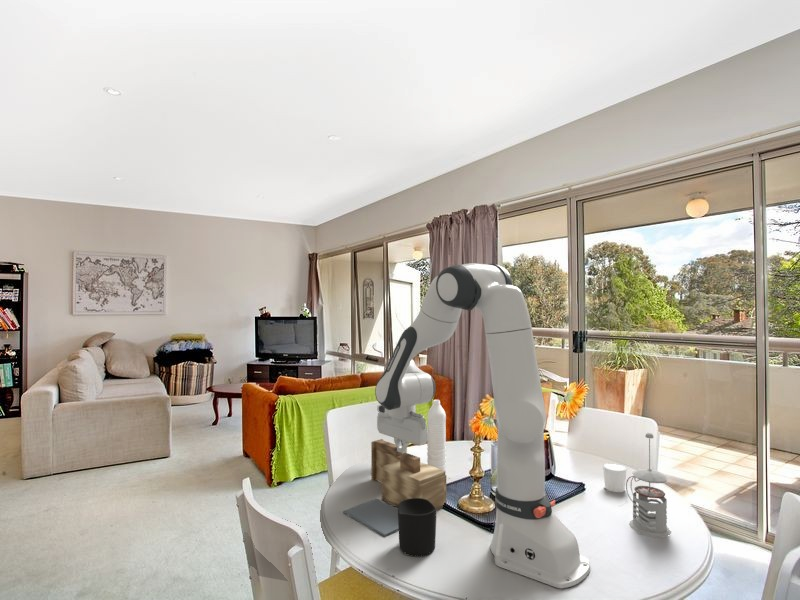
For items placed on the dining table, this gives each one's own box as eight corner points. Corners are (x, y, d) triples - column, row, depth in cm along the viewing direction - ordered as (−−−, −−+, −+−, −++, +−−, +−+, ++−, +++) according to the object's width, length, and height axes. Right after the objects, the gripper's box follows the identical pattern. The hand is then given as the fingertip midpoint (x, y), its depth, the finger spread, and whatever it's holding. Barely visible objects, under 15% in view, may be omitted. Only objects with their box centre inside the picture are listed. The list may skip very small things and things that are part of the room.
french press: (652, 540, 114) (652, 440, 114) (615, 520, 124) (614, 428, 125) (680, 533, 117) (680, 436, 117) (641, 513, 128) (641, 424, 128)
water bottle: (447, 468, 163) (447, 398, 163) (444, 475, 157) (443, 402, 157) (423, 466, 166) (423, 397, 166) (419, 472, 159) (419, 400, 159)
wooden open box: (446, 506, 133) (446, 475, 133) (419, 518, 125) (419, 485, 125) (408, 489, 145) (408, 461, 145) (382, 499, 137) (382, 469, 137)
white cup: (622, 485, 148) (622, 463, 148) (629, 493, 142) (629, 471, 142) (600, 483, 150) (600, 462, 150) (606, 492, 143) (606, 469, 143)
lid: (445, 475, 133) (445, 457, 133) (419, 485, 126) (419, 466, 126) (408, 461, 144) (408, 445, 144) (383, 469, 137) (382, 452, 137)
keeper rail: (405, 487, 147) (405, 447, 147) (395, 491, 144) (395, 450, 144) (381, 476, 155) (381, 439, 155) (371, 480, 152) (371, 441, 152)
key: (401, 454, 147) (401, 446, 147) (395, 456, 145) (395, 448, 145) (381, 447, 154) (381, 439, 154) (375, 448, 152) (375, 441, 152)
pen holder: (441, 541, 113) (441, 501, 113) (429, 561, 104) (429, 518, 105) (406, 534, 117) (406, 495, 117) (391, 553, 108) (391, 511, 108)
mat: (418, 521, 124) (418, 519, 124) (385, 536, 115) (385, 534, 115) (376, 500, 137) (376, 498, 137) (343, 512, 129) (343, 510, 129)
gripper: (432, 413, 139) (432, 458, 139) (388, 402, 154) (388, 443, 154) (417, 417, 135) (417, 463, 135) (373, 405, 150) (373, 447, 150)
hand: (401, 452), depth 145 cm, fingers closed
